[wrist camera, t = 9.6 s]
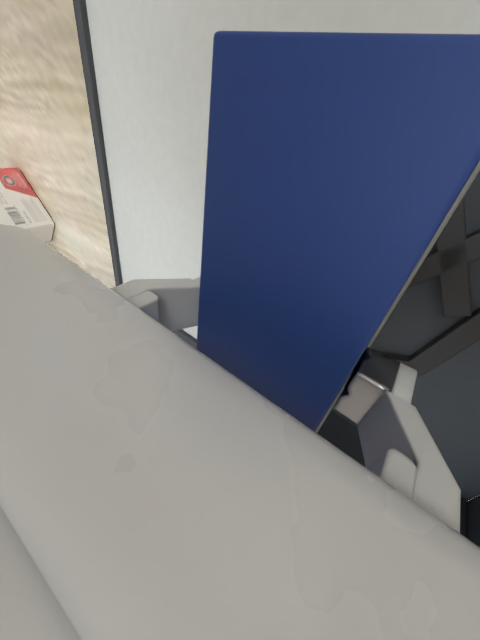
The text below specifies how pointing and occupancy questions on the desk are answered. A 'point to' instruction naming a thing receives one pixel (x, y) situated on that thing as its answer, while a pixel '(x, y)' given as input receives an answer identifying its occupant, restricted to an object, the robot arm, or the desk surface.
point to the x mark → (452, 264)
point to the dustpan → (435, 381)
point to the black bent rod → (443, 345)
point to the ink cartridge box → (23, 205)
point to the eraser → (326, 196)
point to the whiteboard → (192, 105)
